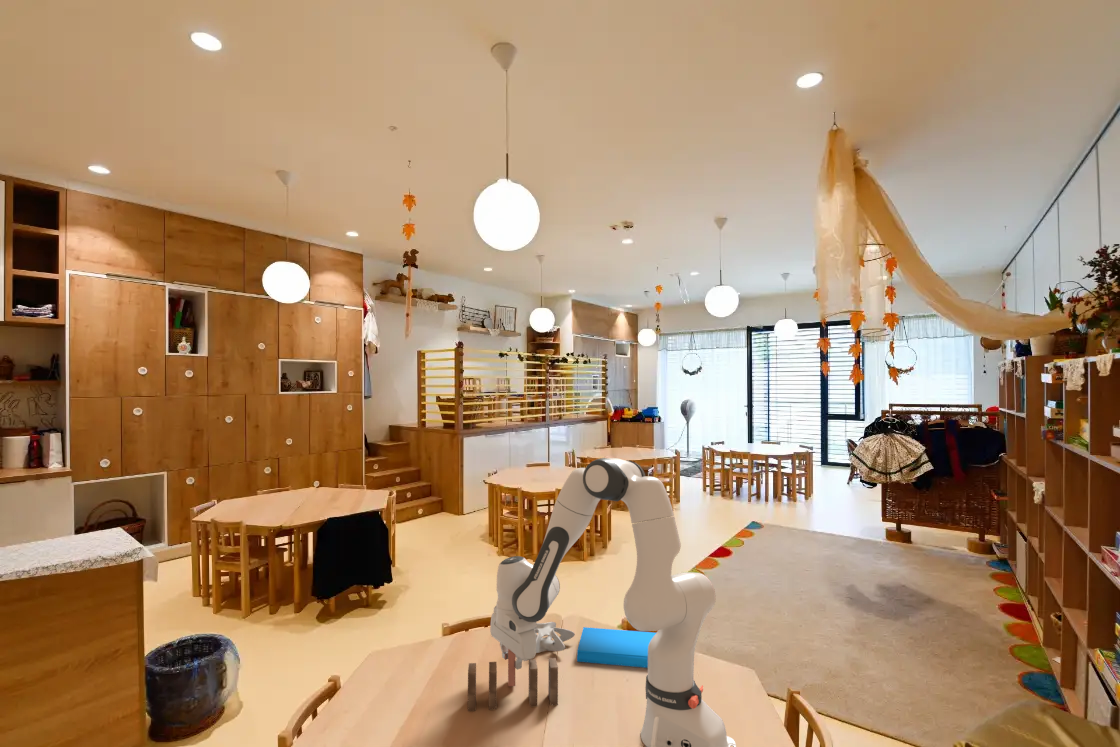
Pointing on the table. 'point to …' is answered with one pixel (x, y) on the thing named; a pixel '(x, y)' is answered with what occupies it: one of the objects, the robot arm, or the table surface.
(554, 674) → the tile
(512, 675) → the tile
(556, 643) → the sculpture
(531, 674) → the tile
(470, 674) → the tile
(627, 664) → the book
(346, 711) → the table surface
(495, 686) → the tile
